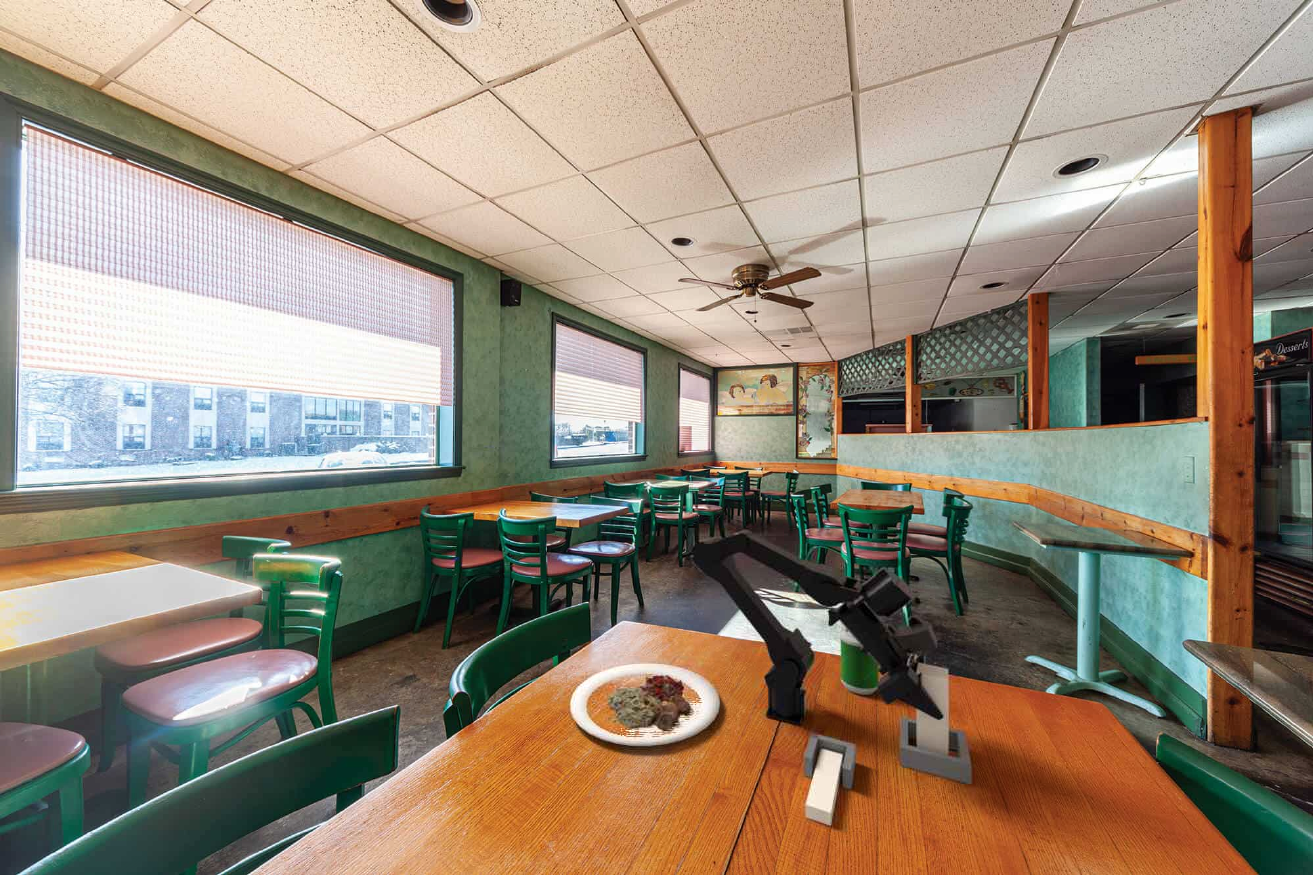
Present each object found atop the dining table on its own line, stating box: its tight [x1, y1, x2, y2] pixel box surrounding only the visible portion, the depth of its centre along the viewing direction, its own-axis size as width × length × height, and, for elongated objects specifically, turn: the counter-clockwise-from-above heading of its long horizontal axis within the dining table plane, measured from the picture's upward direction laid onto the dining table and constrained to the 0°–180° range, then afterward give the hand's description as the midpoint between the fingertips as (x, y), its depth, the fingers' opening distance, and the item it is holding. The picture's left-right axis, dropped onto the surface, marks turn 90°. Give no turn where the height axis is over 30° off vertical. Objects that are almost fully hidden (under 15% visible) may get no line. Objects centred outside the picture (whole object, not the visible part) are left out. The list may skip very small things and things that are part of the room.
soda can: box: [840, 628, 880, 696], centre depth 104 cm, size 8×8×12 cm
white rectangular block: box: [915, 663, 950, 755], centre depth 81 cm, size 4×4×13 cm
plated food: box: [569, 663, 721, 747], centre depth 98 cm, size 30×30×3 cm
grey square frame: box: [899, 716, 973, 786], centre depth 81 cm, size 10×10×3 cm
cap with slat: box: [803, 732, 856, 827], centre depth 74 cm, size 7×16×3 cm, turn 153°
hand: (941, 711), depth 80 cm, fingers closed on white rectangular block, 4 cm apart
